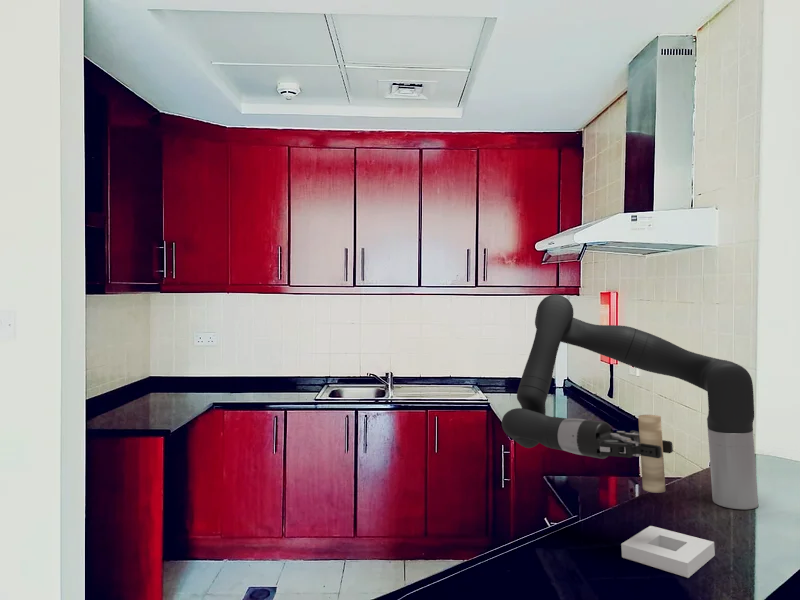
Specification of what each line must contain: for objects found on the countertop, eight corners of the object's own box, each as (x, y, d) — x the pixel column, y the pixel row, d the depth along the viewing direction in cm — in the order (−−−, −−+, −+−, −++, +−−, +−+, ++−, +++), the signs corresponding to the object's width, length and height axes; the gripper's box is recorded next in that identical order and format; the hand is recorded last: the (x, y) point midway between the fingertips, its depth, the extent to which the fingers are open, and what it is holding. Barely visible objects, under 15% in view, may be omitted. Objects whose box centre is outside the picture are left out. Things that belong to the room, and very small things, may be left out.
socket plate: (651, 538, 112) (650, 525, 112) (714, 555, 103) (714, 541, 103) (622, 557, 104) (621, 543, 104) (688, 577, 95) (687, 563, 95)
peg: (648, 484, 109) (644, 413, 109) (669, 488, 106) (664, 416, 106) (638, 489, 106) (634, 417, 107) (659, 494, 103) (654, 419, 104)
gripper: (565, 425, 113) (647, 436, 100) (601, 414, 122) (681, 423, 109) (567, 462, 113) (650, 478, 100) (603, 448, 122) (684, 461, 109)
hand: (665, 449), depth 104 cm, fingers closed on peg, 4 cm apart
